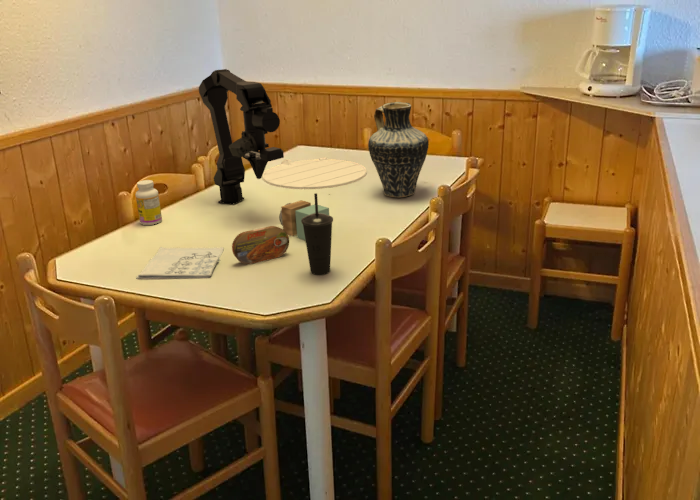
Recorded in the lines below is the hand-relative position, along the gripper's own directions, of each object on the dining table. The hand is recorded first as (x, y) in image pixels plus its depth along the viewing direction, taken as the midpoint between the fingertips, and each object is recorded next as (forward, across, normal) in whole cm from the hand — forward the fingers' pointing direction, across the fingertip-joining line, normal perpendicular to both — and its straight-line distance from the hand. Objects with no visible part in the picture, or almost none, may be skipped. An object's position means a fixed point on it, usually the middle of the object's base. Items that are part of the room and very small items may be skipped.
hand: (259, 178), depth 199 cm
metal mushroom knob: (+12, +21, -2) cm, 24 cm away
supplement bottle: (+12, -23, -25) cm, 36 cm away
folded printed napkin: (+13, +13, -37) cm, 41 cm away
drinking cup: (+12, +45, -18) cm, 50 cm away
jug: (+12, +18, +43) cm, 48 cm away
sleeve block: (+12, +19, -2) cm, 22 cm away
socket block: (+12, +26, -2) cm, 28 cm away
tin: (+12, +27, -22) cm, 37 cm away
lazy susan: (+13, -23, +44) cm, 51 cm away
